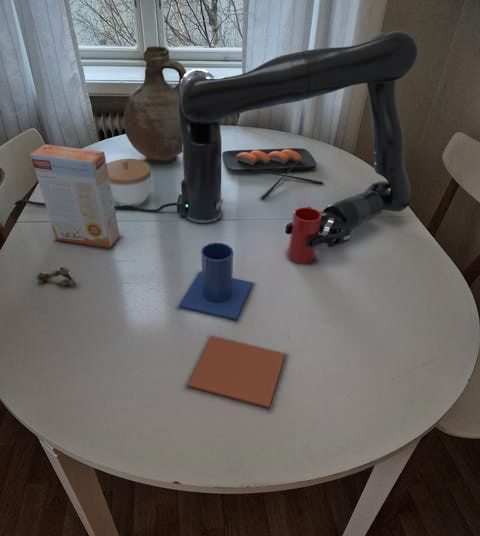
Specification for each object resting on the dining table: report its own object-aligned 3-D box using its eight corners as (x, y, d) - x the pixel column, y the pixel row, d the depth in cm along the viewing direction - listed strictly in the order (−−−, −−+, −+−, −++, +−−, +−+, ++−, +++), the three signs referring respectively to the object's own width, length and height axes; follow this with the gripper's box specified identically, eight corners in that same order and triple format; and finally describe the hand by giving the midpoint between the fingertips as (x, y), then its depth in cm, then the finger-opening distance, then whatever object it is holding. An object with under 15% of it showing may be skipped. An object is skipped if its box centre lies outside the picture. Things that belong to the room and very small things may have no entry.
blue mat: (179, 307, 86) (179, 305, 86) (200, 273, 95) (200, 271, 94) (236, 320, 84) (236, 318, 84) (252, 284, 92) (252, 282, 92)
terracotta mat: (187, 387, 72) (187, 384, 71) (211, 338, 80) (211, 336, 80) (269, 408, 69) (269, 406, 69) (284, 355, 78) (285, 353, 77)
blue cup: (198, 301, 88) (196, 257, 80) (208, 283, 92) (207, 240, 84) (226, 308, 87) (227, 263, 79) (235, 289, 91) (236, 246, 83)
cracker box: (120, 236, 104) (105, 150, 90) (109, 249, 100) (92, 161, 85) (67, 227, 106) (44, 142, 92) (54, 240, 102) (28, 152, 87)
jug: (131, 143, 145) (117, 39, 125) (194, 143, 148) (191, 41, 127) (125, 171, 130) (108, 58, 109) (197, 170, 132) (193, 59, 111)
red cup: (285, 260, 99) (291, 218, 92) (291, 246, 103) (296, 205, 96) (311, 266, 98) (319, 223, 91) (315, 251, 102) (323, 210, 95)
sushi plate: (305, 153, 145) (307, 141, 142) (334, 195, 123) (337, 183, 121) (220, 156, 140) (220, 144, 138) (235, 200, 119) (235, 188, 116)
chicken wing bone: (76, 286, 88) (63, 268, 86) (48, 293, 91) (34, 276, 89) (81, 281, 90) (68, 263, 87) (52, 287, 93) (39, 271, 90)
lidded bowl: (97, 206, 114) (88, 166, 106) (123, 186, 123) (117, 148, 115) (138, 217, 111) (132, 176, 103) (162, 196, 120) (159, 156, 112)
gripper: (327, 188, 105) (276, 208, 97) (374, 213, 97) (323, 236, 89) (322, 216, 110) (273, 236, 102) (366, 241, 102) (317, 266, 94)
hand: (297, 236), depth 95 cm, fingers closed on red cup, 6 cm apart
